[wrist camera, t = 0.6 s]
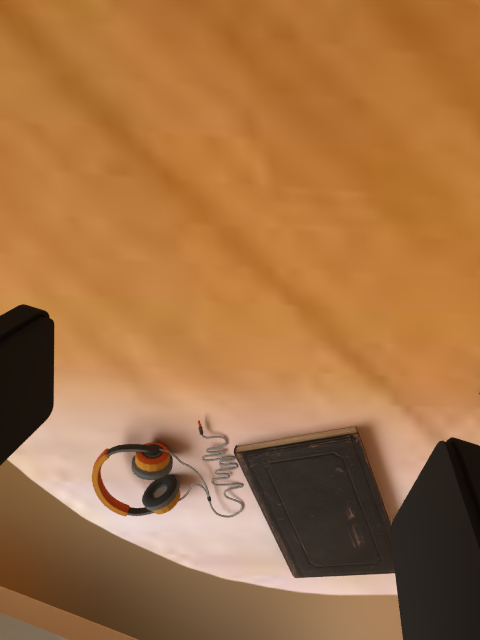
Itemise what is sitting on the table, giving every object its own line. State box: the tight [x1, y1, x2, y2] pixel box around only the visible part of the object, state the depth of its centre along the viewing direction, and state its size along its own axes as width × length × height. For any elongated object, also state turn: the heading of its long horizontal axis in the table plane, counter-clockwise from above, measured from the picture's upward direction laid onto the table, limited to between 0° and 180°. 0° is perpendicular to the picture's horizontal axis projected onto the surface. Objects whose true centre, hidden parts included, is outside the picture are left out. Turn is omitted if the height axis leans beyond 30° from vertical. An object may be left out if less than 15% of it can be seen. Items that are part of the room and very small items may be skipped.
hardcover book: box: [234, 427, 395, 578], centre depth 55 cm, size 16×23×2 cm
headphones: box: [92, 421, 244, 518], centre depth 56 cm, size 17×5×20 cm
